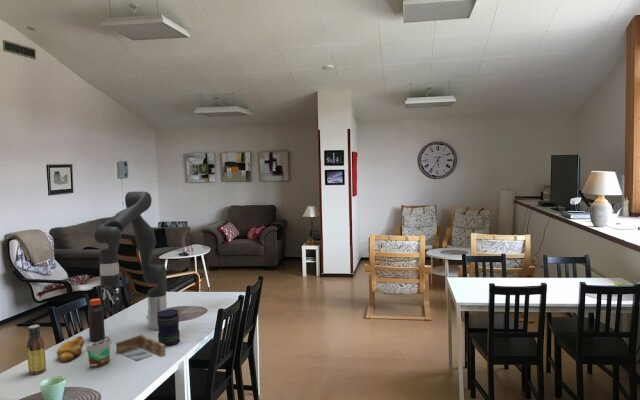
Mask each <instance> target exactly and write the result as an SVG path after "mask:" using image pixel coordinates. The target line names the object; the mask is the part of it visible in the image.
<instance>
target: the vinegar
mask: <svg viewBox="0 0 640 400" xmlns="http://www.w3.org/2000/svg"><path fill="white" fill-rule="evenodd" d="M101 300H102V298H92V299H89V307H90V308H89V309H88V310H87V314H88V315H87V317H88V332H89V334H88V336H89V341H90V342H93V343H96V342H97V341H100V340H102V339H104V336H106V332H105V315H104V307H102V306H101V304H102V303H101V302H102V301H101Z"/></svg>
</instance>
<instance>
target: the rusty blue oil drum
mask: <svg viewBox="0 0 640 400" xmlns="http://www.w3.org/2000/svg"><path fill="white" fill-rule="evenodd" d="M179 319H180V316H179V310H178V309H174V308H172V309H171V308H170V309H168V308H167V310H162V311H160V312H158V313H157V321H158V323H157V324H158V328H159V330H158V333H157V338H158V342H160V343H162V344H165V348H167V347H173V346H176V345H179V343H180V342H181V341H180V339H181V338H180V336H181V335H180V329H179V328H180V327H179V325H180V324H179V323H180V320H179Z"/></svg>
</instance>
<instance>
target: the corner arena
mask: <svg viewBox="0 0 640 400" xmlns="http://www.w3.org/2000/svg"><path fill="white" fill-rule="evenodd" d="M115 348H116V354H117V355H120V354H121V355H122V356H124V357H126V358H129V359H131V360H133V361H135V362H139V361H141V360H143V359H147V358H149V357H153V354H151V353H154V354H156V355H158V356H161V357H164V356H166V347H165V344H162V343H160V342H159V341H157V340H155V339H152V338H150V337H148V336H145V335H142V334H140V335H137V336H133V337H131V338H126V339H123V340H121V341H118V342H116V343H115ZM139 348H140V349H139ZM141 348H142V349H145V350H146V351H149V352H151V353H149V352H146V351H144V350H142V349H141Z"/></svg>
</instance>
